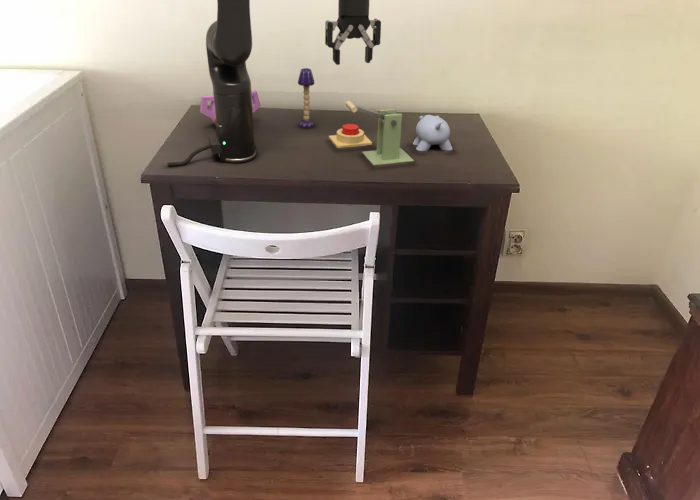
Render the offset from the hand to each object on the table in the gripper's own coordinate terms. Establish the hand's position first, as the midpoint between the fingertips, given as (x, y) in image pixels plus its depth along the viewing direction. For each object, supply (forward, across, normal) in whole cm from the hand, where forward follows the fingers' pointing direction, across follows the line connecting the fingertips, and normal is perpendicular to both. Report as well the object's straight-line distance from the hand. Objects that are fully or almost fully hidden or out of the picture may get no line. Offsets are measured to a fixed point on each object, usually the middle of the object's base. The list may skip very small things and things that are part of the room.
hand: (352, 63), depth 153 cm
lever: (+10, -1, +13) cm, 16 cm away
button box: (+22, 0, 0) cm, 22 cm away
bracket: (+22, -6, +13) cm, 26 cm away
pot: (+22, +29, -22) cm, 43 cm away
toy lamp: (+22, +8, -17) cm, 29 cm away
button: (+19, 0, 0) cm, 19 cm away
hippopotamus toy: (+22, -21, +7) cm, 31 cm away
